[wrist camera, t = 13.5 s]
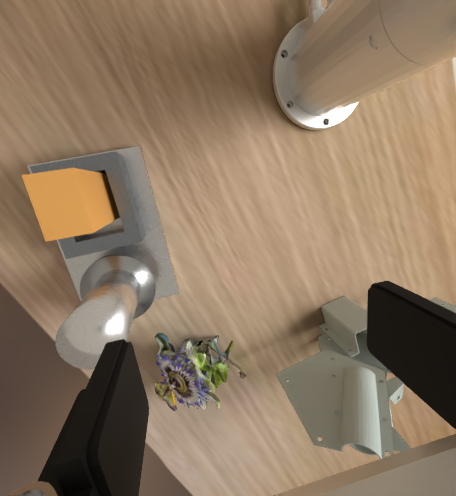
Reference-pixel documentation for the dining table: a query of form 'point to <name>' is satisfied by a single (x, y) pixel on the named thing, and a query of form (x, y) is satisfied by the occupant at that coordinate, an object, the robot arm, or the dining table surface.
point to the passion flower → (191, 372)
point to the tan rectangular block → (71, 202)
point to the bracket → (346, 386)
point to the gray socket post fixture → (113, 259)
